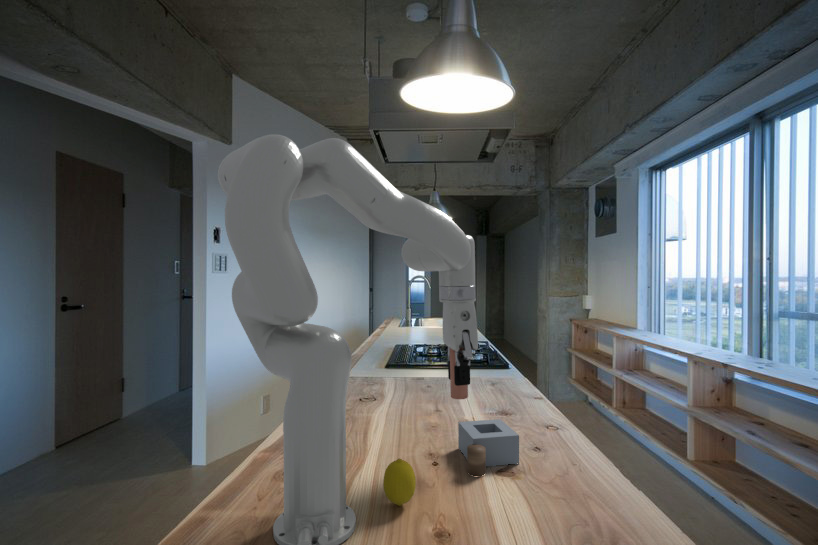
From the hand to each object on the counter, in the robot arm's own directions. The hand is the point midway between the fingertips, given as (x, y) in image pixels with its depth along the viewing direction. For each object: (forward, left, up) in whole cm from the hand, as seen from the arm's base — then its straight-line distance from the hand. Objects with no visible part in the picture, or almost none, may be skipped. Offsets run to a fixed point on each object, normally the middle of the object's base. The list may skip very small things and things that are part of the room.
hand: (459, 381), depth 91 cm
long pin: (0, 0, -3) cm, 3 cm away
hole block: (+2, -7, -17) cm, 19 cm away
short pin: (-5, -2, -17) cm, 18 cm away
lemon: (-14, +15, -17) cm, 27 cm away
